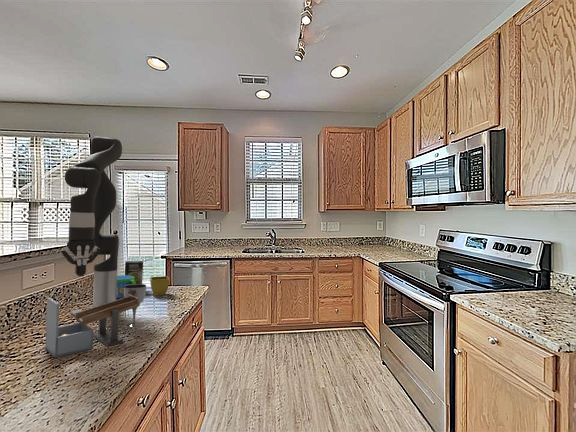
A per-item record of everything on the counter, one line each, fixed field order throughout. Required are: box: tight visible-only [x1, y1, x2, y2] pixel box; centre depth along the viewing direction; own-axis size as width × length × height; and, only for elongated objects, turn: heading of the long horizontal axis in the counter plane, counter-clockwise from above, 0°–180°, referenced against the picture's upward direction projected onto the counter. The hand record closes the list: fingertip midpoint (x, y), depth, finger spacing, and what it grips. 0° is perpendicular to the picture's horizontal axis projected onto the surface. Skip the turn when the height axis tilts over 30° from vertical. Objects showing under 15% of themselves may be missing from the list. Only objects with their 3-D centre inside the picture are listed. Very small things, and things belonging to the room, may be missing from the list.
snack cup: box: [116, 274, 136, 299], centre depth 170 cm, size 16×10×10 cm
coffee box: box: [124, 260, 144, 284], centre depth 184 cm, size 9×6×16 cm
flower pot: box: [149, 275, 170, 297], centre depth 177 cm, size 9×9×9 cm
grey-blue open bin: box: [44, 297, 94, 359], centre depth 106 cm, size 10×10×16 cm
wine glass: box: [123, 283, 147, 329], centre depth 130 cm, size 8×8×15 cm
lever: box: [69, 295, 141, 325], centre depth 117 cm, size 14×18×3 cm
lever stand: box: [93, 303, 125, 347], centre depth 115 cm, size 13×5×11 cm, turn 49°
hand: (80, 275), depth 116 cm, fingers closed
